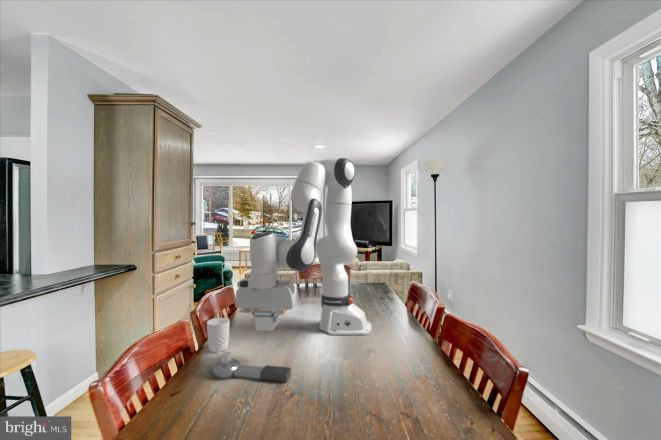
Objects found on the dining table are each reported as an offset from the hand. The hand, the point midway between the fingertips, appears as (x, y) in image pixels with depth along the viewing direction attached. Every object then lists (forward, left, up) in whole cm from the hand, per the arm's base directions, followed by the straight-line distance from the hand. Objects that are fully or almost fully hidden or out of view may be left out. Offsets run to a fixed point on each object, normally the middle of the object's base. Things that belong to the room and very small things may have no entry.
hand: (266, 321), depth 107 cm
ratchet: (0, +12, -13) cm, 17 cm away
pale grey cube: (0, 0, -2) cm, 2 cm away
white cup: (+20, -4, -13) cm, 25 cm away
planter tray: (+20, -55, -13) cm, 60 cm away
